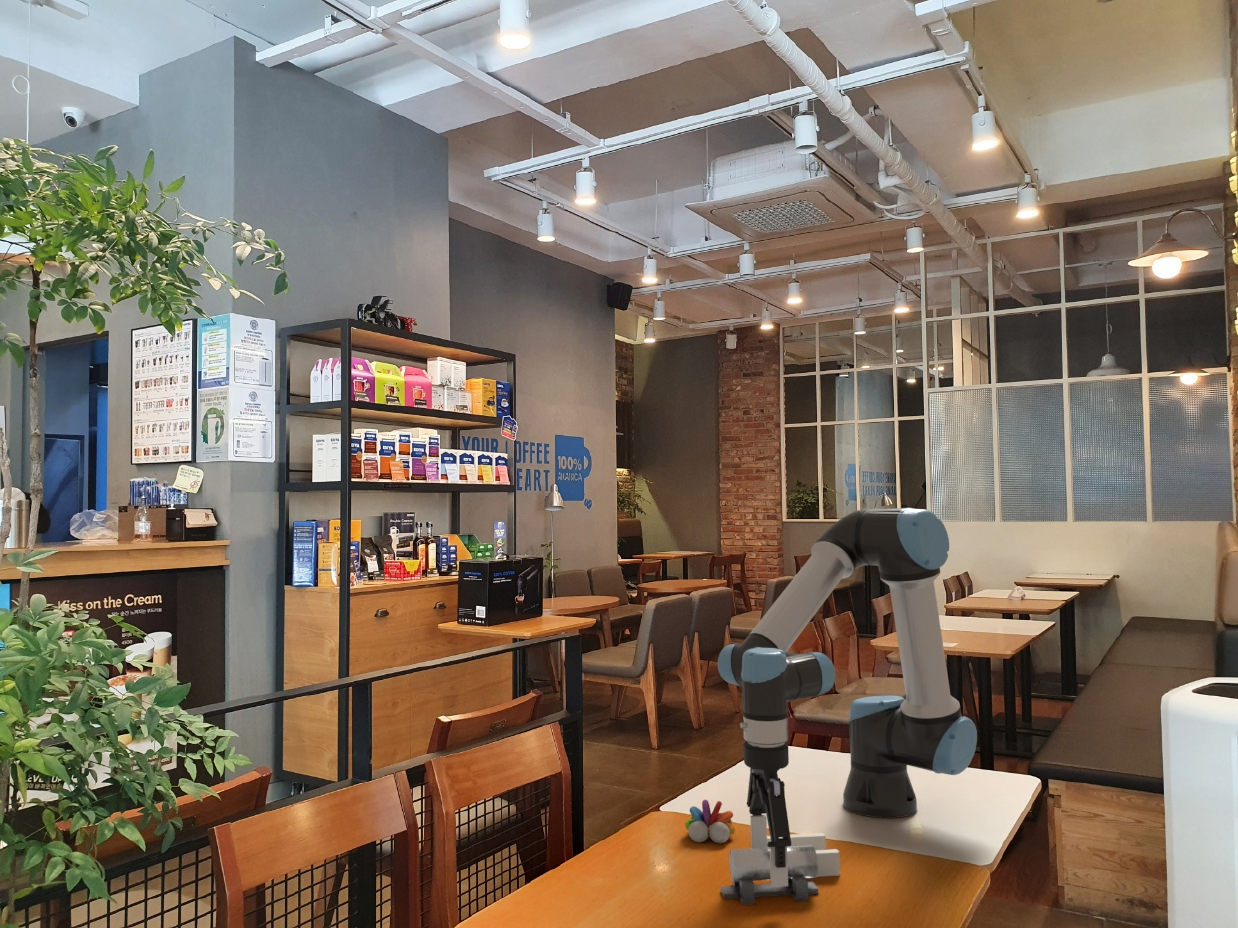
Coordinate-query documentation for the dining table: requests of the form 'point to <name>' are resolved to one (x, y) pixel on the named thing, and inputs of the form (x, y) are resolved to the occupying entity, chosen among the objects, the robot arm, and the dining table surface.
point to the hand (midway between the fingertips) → (768, 868)
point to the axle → (758, 863)
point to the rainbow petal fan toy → (710, 823)
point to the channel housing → (818, 852)
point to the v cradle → (769, 890)
